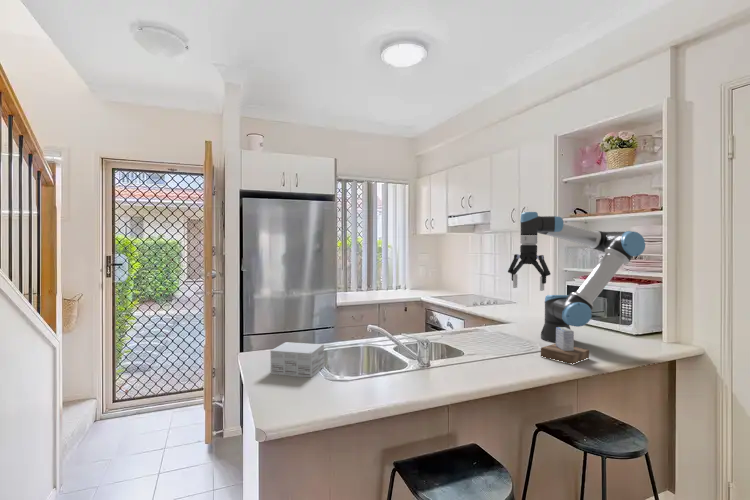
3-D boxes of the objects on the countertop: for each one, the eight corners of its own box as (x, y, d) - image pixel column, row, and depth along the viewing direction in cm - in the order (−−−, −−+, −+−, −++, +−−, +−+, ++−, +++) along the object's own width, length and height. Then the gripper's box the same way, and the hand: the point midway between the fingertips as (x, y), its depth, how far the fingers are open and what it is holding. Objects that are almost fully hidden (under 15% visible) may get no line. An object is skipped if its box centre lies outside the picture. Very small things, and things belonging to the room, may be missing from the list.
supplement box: (324, 367, 158) (324, 343, 158) (311, 378, 146) (311, 353, 145) (285, 363, 163) (285, 341, 162) (270, 374, 150) (269, 349, 150)
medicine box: (573, 351, 168) (574, 331, 168) (563, 351, 168) (563, 331, 168) (565, 346, 176) (565, 327, 175) (555, 346, 176) (555, 326, 176)
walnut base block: (557, 351, 182) (557, 342, 181) (588, 359, 170) (589, 349, 170) (540, 356, 173) (540, 347, 173) (572, 365, 162) (572, 355, 162)
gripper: (500, 244, 195) (500, 287, 195) (550, 245, 176) (550, 292, 176) (509, 244, 199) (508, 286, 200) (558, 244, 180) (558, 291, 181)
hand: (528, 289), depth 188 cm, fingers open, 13 cm apart
